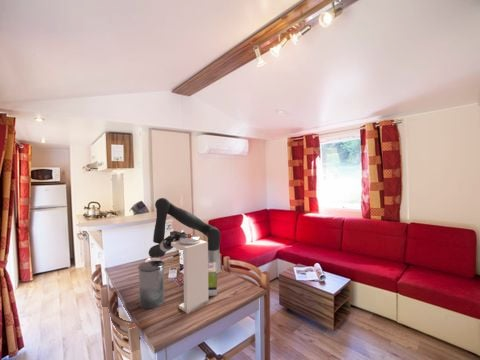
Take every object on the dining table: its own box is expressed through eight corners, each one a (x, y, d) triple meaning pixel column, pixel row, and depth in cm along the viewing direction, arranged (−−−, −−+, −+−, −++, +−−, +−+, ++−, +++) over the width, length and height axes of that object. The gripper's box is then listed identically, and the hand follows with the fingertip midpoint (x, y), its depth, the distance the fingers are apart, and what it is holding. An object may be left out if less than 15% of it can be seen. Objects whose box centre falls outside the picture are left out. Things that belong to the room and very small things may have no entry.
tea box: (201, 284, 148) (201, 262, 148) (217, 284, 149) (217, 261, 148) (199, 296, 133) (199, 271, 133) (217, 296, 134) (216, 271, 133)
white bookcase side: (171, 302, 126) (171, 242, 126) (192, 293, 137) (191, 237, 136) (187, 313, 116) (186, 247, 116) (208, 302, 127) (207, 241, 126)
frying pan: (180, 256, 203) (180, 249, 203) (186, 260, 192) (186, 252, 192) (142, 264, 183) (142, 257, 183) (147, 270, 173) (146, 261, 173)
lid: (164, 238, 134) (164, 230, 134) (180, 234, 142) (180, 227, 142) (187, 246, 118) (187, 237, 118) (204, 241, 126) (203, 233, 126)
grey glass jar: (162, 293, 136) (162, 259, 136) (166, 305, 124) (166, 267, 124) (138, 299, 130) (137, 263, 130) (139, 312, 118) (139, 272, 118)
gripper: (179, 246, 146) (193, 237, 135) (159, 252, 135) (172, 242, 125) (176, 235, 148) (189, 225, 138) (155, 240, 138) (168, 230, 127)
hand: (181, 234), depth 131 cm, fingers closed on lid, 3 cm apart
